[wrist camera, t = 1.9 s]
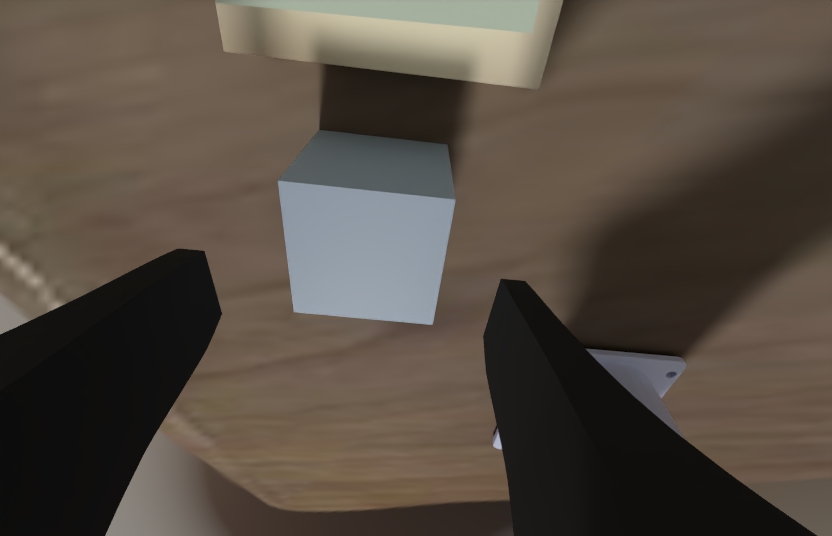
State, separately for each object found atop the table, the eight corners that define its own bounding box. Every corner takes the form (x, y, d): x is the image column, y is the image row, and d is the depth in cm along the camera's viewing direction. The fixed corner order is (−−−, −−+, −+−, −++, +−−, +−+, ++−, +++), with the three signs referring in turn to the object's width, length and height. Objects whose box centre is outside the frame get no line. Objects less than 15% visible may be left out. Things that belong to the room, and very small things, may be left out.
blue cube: (431, 249, 16) (432, 324, 12) (324, 238, 16) (293, 312, 12) (447, 143, 13) (455, 199, 9) (319, 129, 13) (277, 180, 9)
